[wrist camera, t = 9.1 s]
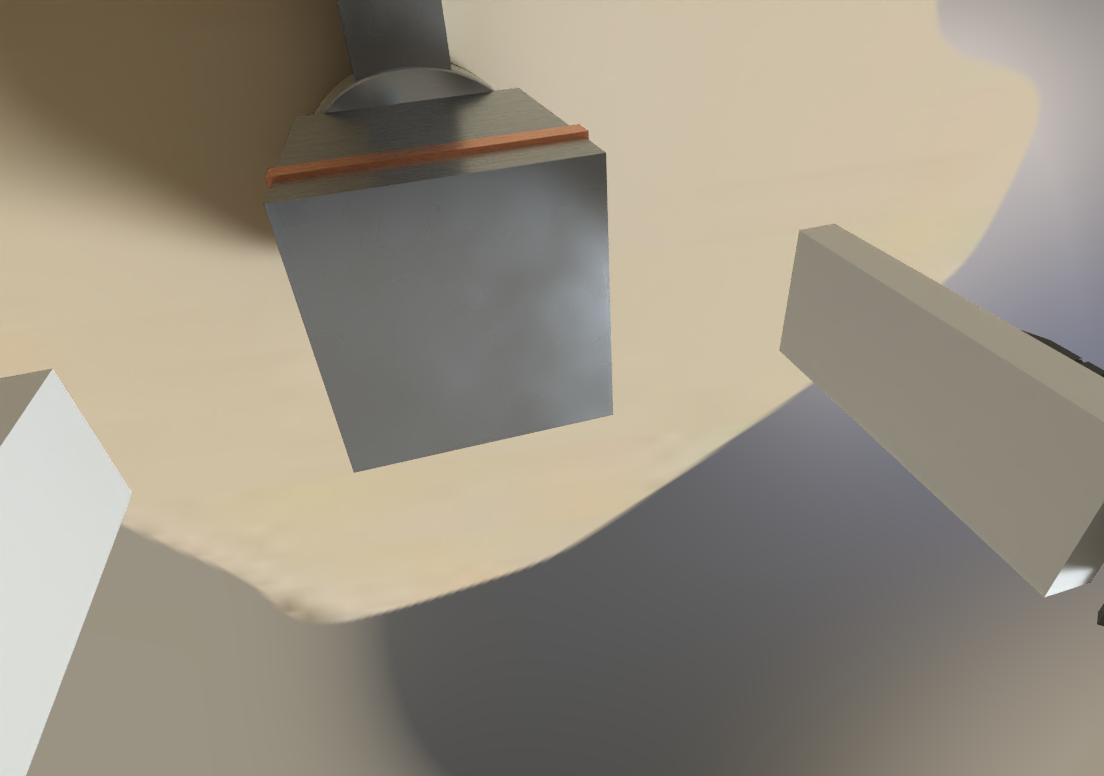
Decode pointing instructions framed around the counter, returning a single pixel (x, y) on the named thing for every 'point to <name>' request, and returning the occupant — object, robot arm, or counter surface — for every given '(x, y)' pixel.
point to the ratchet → (397, 56)
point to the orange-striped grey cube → (448, 270)
